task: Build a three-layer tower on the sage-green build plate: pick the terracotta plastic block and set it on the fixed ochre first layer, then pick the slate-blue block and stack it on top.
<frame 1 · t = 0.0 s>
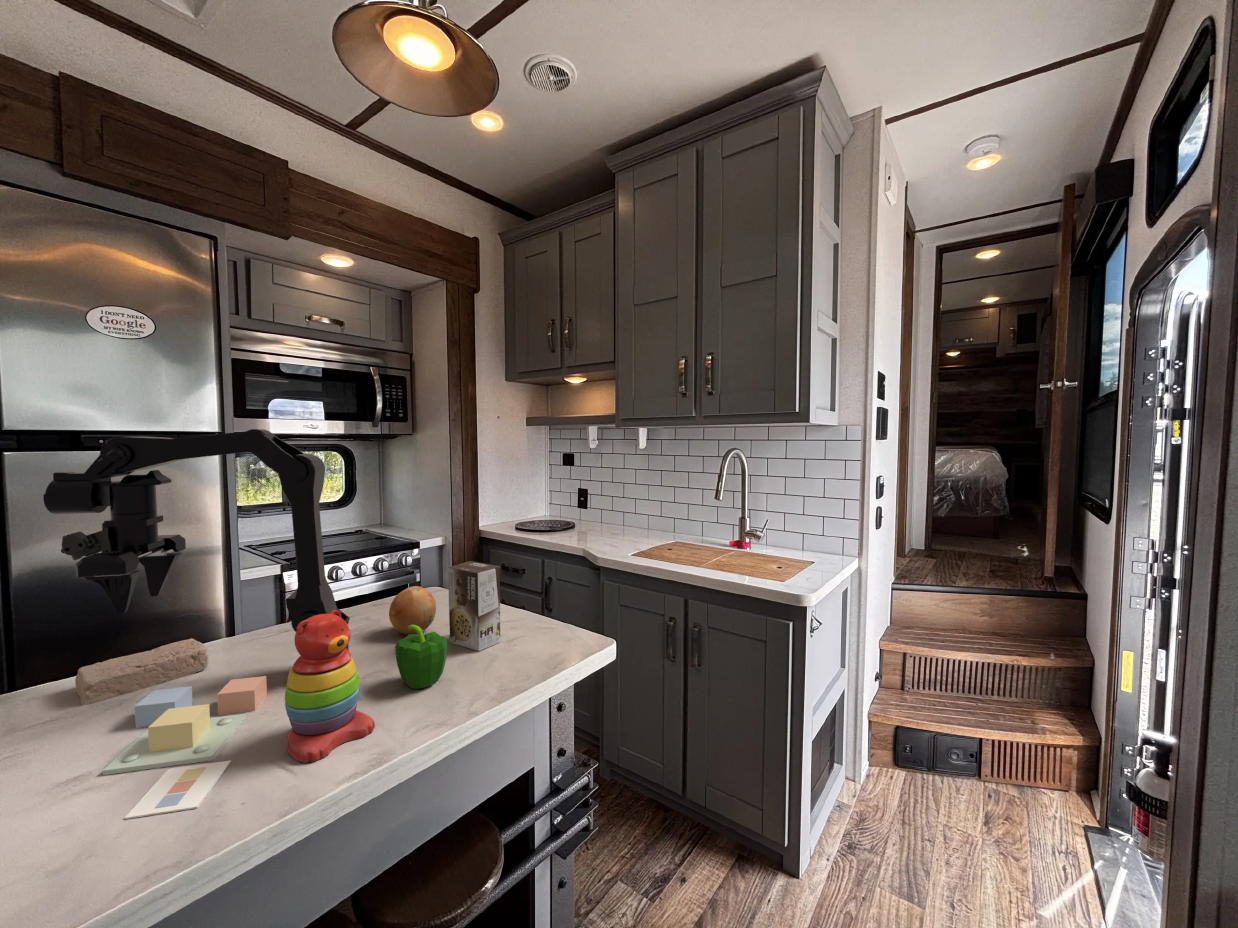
hand: (138, 604, 89), 15 cm above the counter, fingers open, 9 cm apart
build plate: (181, 743, 75), on the counter
instruction card: (182, 788, 65), on the counter
brick: (145, 682, 94), on the counter
stacking bear: (325, 737, 77), on the counter
onion: (413, 632, 116), on the counter
brick terracotta: (243, 705, 85), on the counter
brick slate: (165, 717, 82), on the counter
bell pepper: (422, 683, 94), on the counter
coffee box: (475, 642, 111), on the counter
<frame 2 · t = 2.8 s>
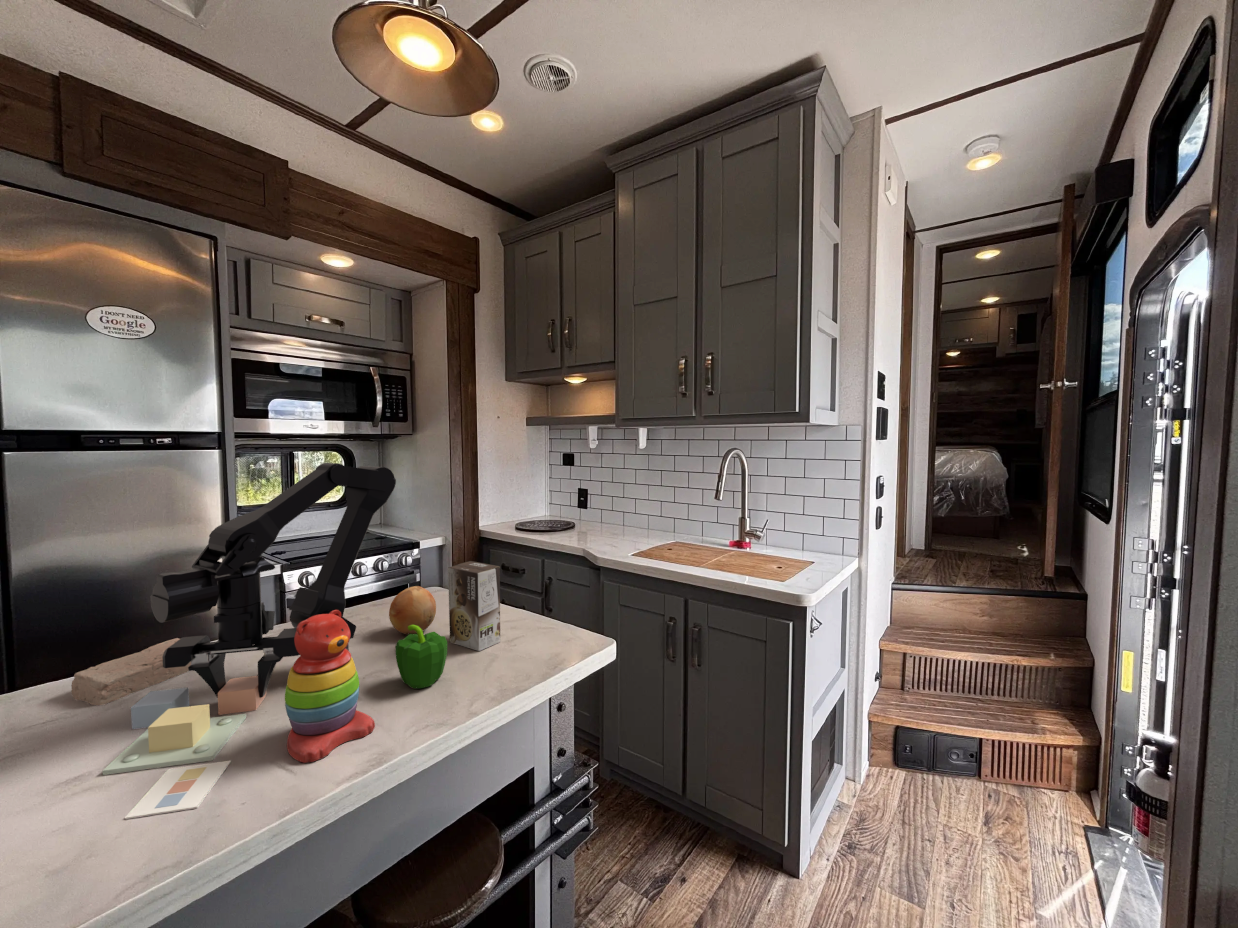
hand: (243, 698, 85), 1 cm above the counter, fingers closed on brick terracotta, 5 cm apart
brick terracotta: (243, 704, 85), on the counter, touching gripper
when the fingers open (6 cm above the counter, at t = 6.2 s): brick terracotta stays where it is, resting on build plate.
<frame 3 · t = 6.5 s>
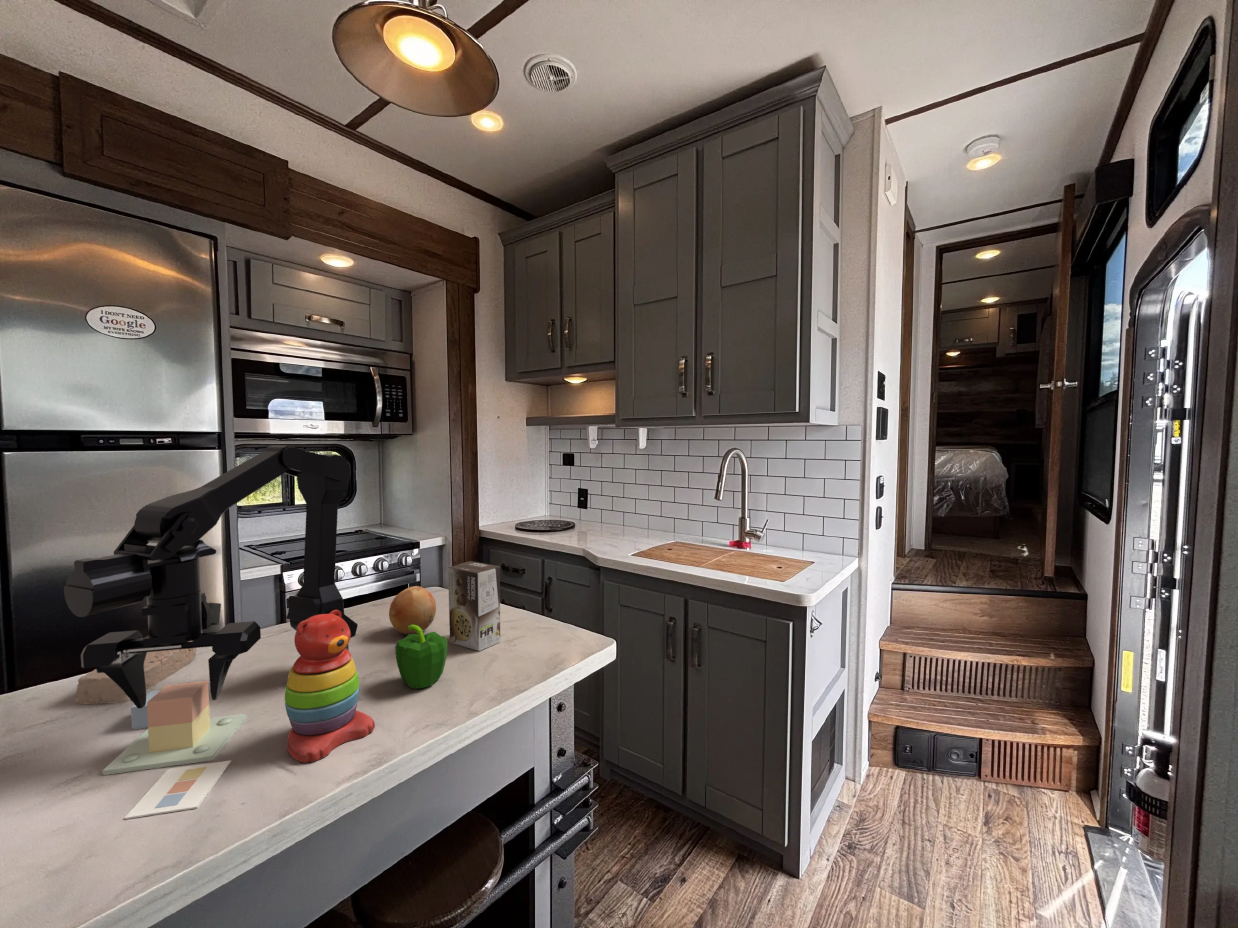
hand: (179, 702, 74), 6 cm above the counter, fingers open, 8 cm apart
brick terracotta: (179, 715, 74), point 4 cm above the counter, touching build plate
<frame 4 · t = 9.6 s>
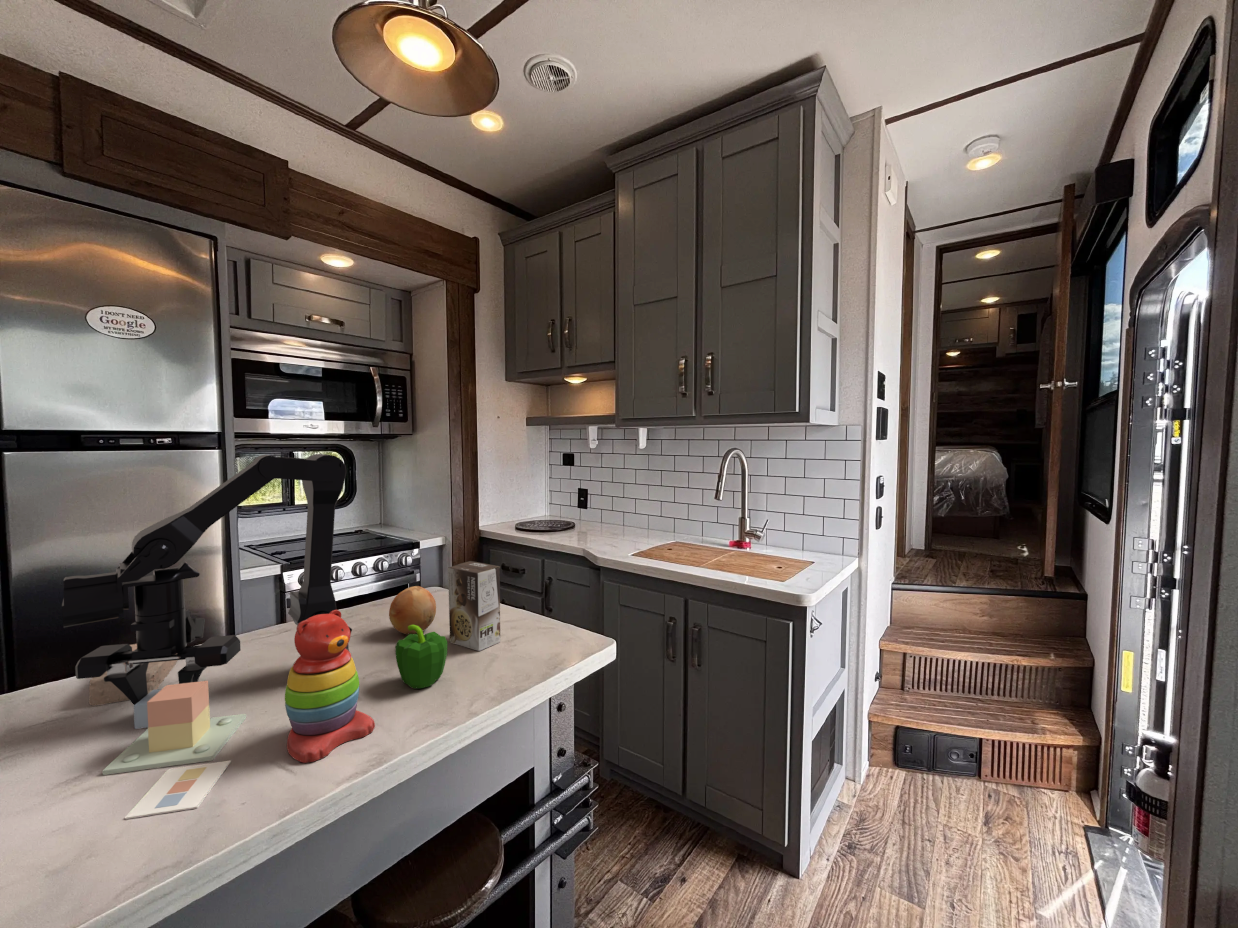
hand: (165, 709, 82), 1 cm above the counter, fingers closed on brick slate, 5 cm apart
brick slate: (164, 717, 81), on the counter, touching gripper
when the fingers open (9 cm above the counter, at t = 12.9 s): brick slate stays where it is, resting on brick terracotta.
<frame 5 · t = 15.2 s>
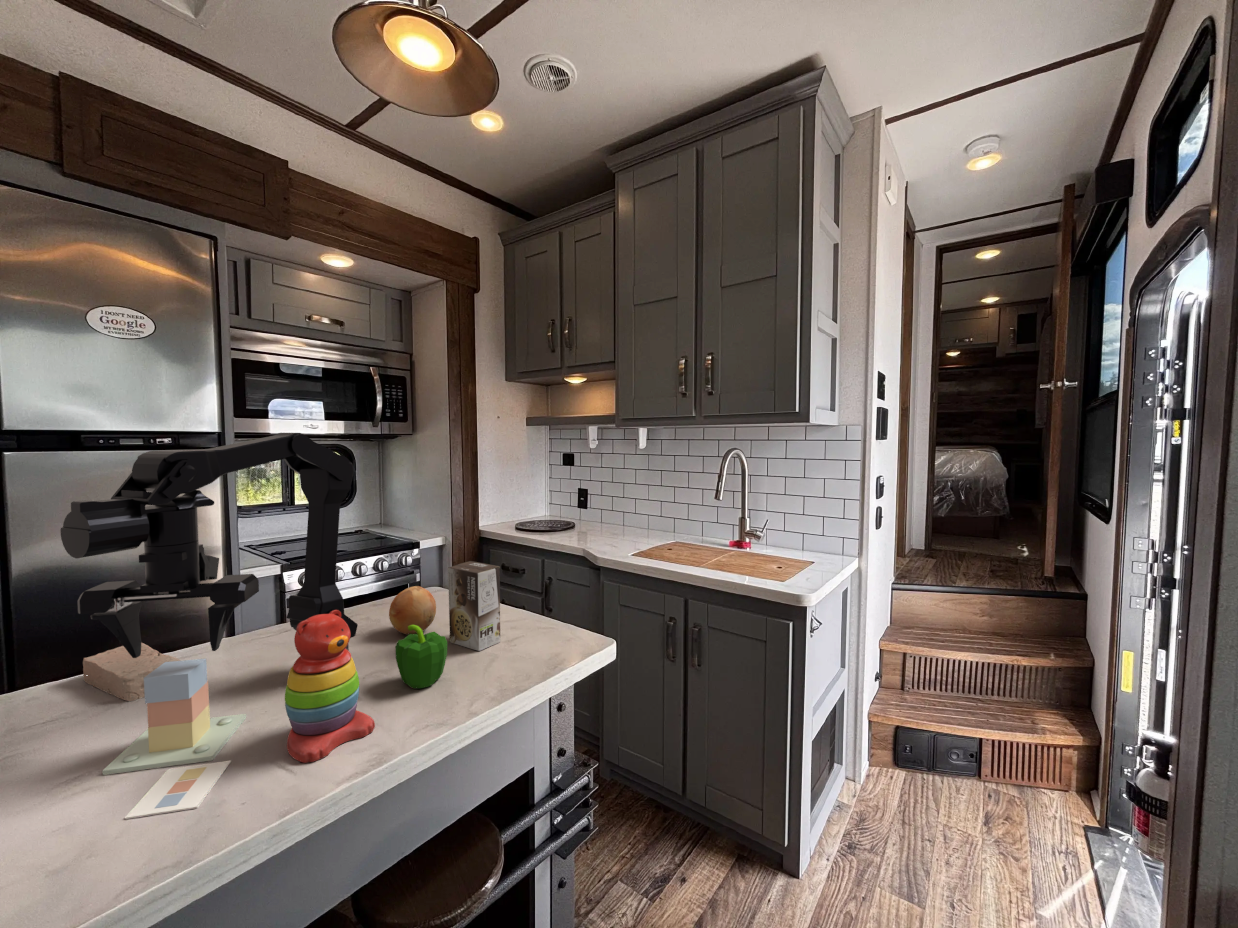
hand: (176, 653, 74), 13 cm above the counter, fingers open, 9 cm apart
brick terracotta: (179, 715, 74), point 4 cm above the counter, touching brick slate, build plate
brick slate: (177, 692, 74), point 8 cm above the counter, touching brick terracotta
at the end: brick terracotta 0.0 cm off-centre on the build plate, point 4.1 cm above the build plate's base; brick slate 0.4 cm off-centre on the brick terracotta, point 3.5 cm above the brick terracotta's base; the gripper is holding nothing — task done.
